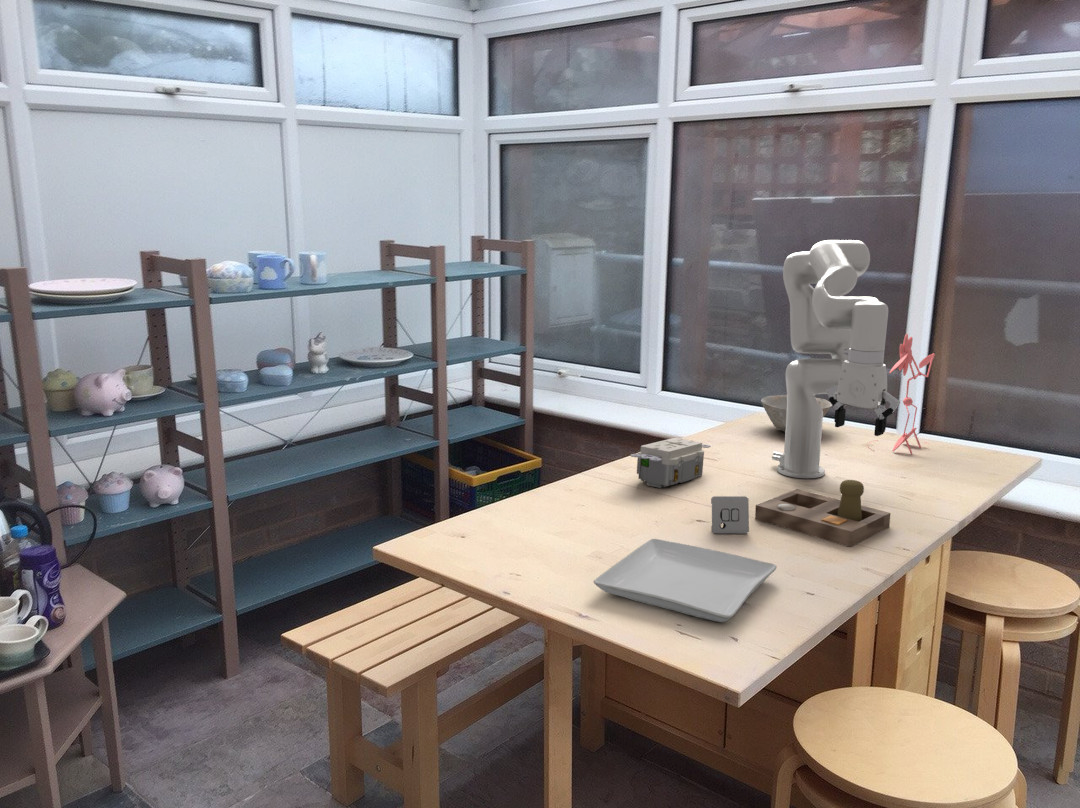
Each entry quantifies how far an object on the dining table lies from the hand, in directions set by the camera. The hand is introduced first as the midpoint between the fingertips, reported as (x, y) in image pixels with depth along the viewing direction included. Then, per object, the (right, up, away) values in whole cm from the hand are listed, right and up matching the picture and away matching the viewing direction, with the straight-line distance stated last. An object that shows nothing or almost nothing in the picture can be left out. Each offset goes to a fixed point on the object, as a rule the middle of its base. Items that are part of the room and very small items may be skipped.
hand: (858, 430), depth 207 cm
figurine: (+35, -7, +69) cm, 78 cm away
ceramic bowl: (+10, -3, +88) cm, 89 cm away
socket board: (-8, -22, +3) cm, 23 cm away
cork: (-2, -22, 0) cm, 22 cm away
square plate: (-45, -30, -33) cm, 63 cm away
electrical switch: (-31, -23, -2) cm, 38 cm away
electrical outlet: (-38, -14, +36) cm, 54 cm away
